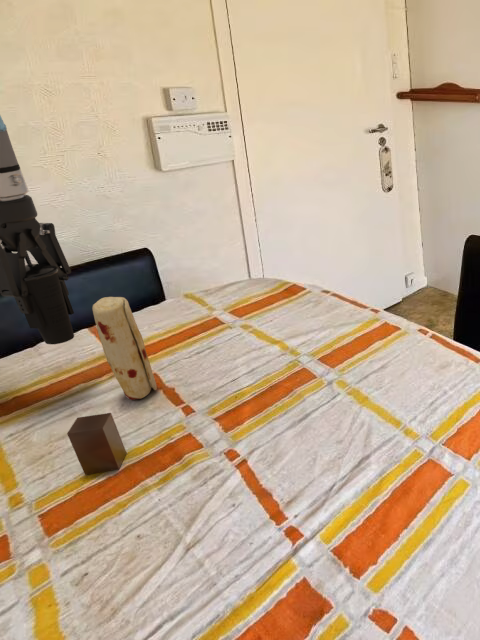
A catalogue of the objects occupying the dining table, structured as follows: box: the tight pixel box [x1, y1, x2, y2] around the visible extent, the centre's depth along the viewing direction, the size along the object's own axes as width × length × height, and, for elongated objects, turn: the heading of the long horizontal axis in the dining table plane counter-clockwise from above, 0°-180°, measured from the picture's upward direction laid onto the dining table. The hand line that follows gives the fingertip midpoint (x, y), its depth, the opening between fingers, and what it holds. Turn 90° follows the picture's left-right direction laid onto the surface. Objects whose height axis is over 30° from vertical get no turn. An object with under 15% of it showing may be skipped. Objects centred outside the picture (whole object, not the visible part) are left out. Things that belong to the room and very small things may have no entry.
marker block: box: [66, 412, 127, 476], centre depth 101 cm, size 5×5×8 cm
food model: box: [91, 296, 158, 401], centre depth 120 cm, size 10×7×20 cm
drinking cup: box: [18, 251, 75, 345], centre depth 116 cm, size 8×8×20 cm
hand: (52, 320), depth 119 cm, fingers closed on drinking cup, 6 cm apart
